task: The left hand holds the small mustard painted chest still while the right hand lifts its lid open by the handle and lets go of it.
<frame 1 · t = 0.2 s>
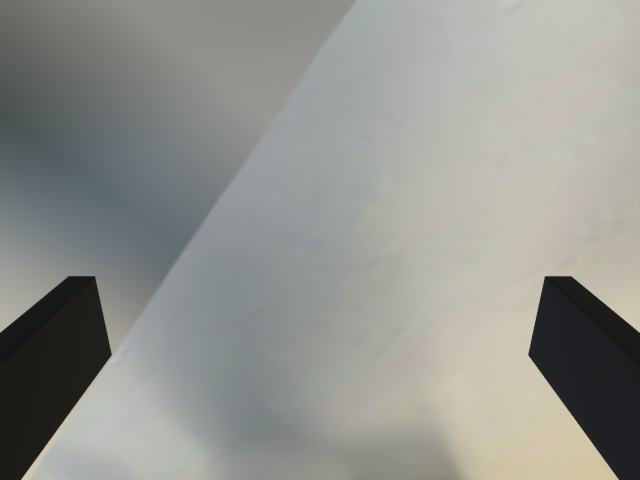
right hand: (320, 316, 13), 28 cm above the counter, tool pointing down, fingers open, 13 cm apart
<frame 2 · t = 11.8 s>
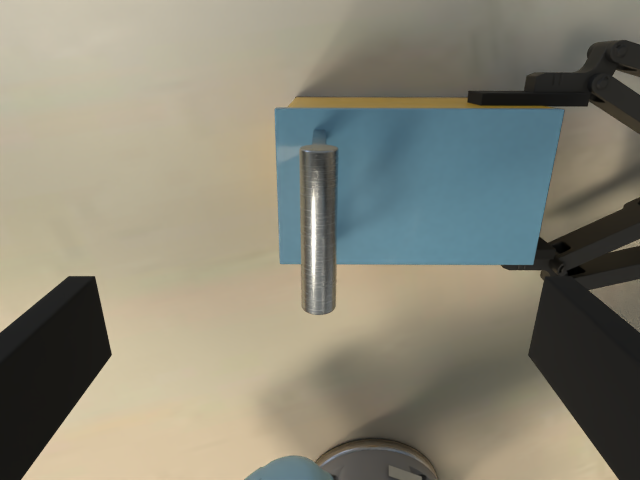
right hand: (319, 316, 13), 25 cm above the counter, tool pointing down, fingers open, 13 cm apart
left hand: (464, 177, 29), fingers closed on chest, 9 cm apart
lid: (425, 209, 23), point 14 cm above the counter, hinge at 0.0°
chest: (390, 157, 36), on the counter, touching left hand
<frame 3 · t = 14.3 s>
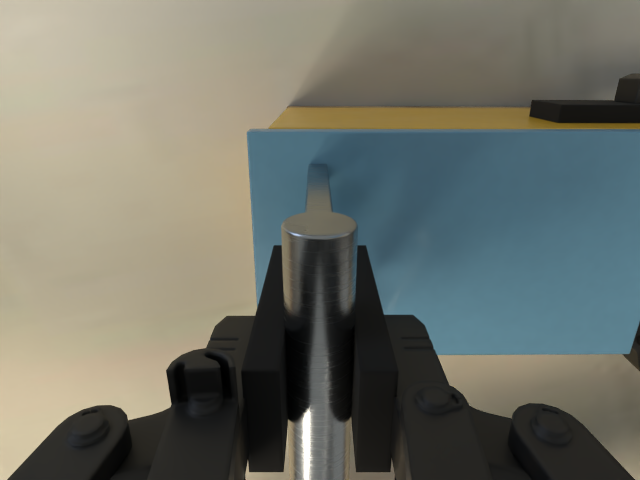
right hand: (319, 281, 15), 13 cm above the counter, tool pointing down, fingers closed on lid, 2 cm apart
lid: (492, 298, 14), point 14 cm above the counter, hinge at 1.1°, touching right hand
chest: (413, 185, 27), on the counter, touching left hand
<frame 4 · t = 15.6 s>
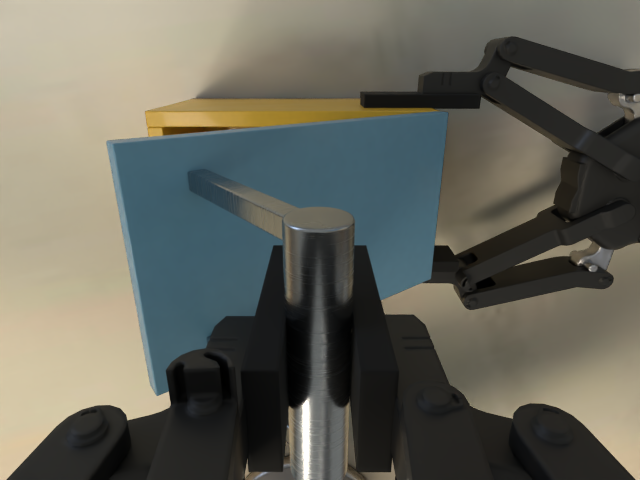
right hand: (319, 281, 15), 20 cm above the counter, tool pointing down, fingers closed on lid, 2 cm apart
left hand: (359, 184, 27), fingers closed on chest, 9 cm apart
lid: (379, 259, 17), point 18 cm above the counter, hinge at 37.0°, touching right hand
chest: (300, 162, 34), on the counter, touching left hand
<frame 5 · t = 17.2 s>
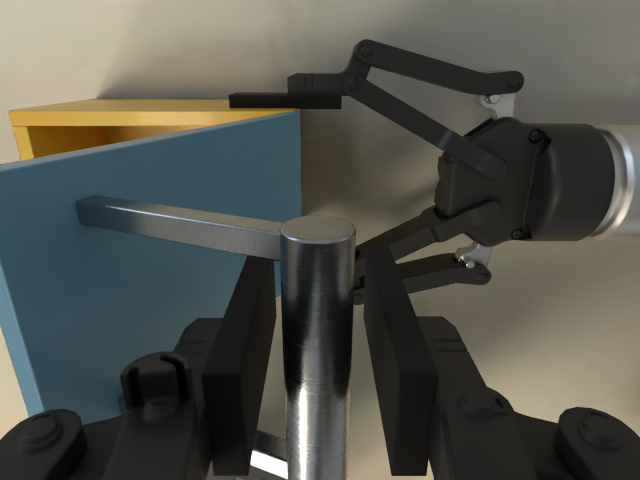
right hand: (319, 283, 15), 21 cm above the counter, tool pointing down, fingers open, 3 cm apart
left hand: (239, 182, 28), fingers closed on chest, 9 cm apart
lid: (293, 262, 17), point 19 cm above the counter, hinge at 66.4°
chest: (203, 161, 34), on the counter, touching left hand
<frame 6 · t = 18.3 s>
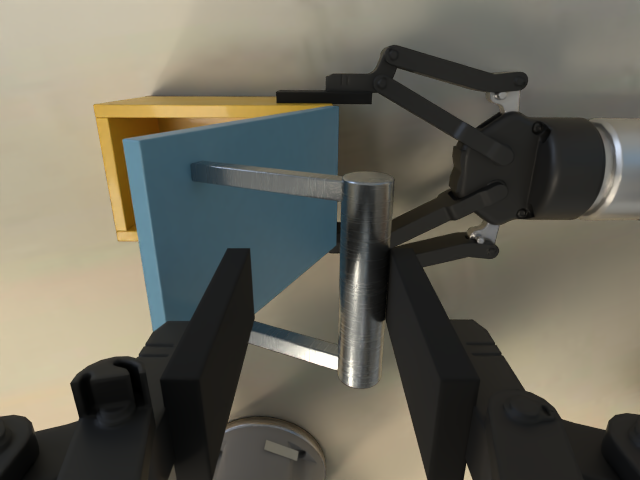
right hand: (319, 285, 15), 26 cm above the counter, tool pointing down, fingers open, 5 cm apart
left hand: (280, 168, 33), fingers closed on chest, 9 cm apart
lid: (336, 222, 21), point 19 cm above the counter, hinge at 64.2°, touching right hand
chest: (242, 152, 39), on the counter, touching left hand
when the left hand's fingers open (7 cm above the counter, at t = 21.1 s): chest stays where it is, on the counter.
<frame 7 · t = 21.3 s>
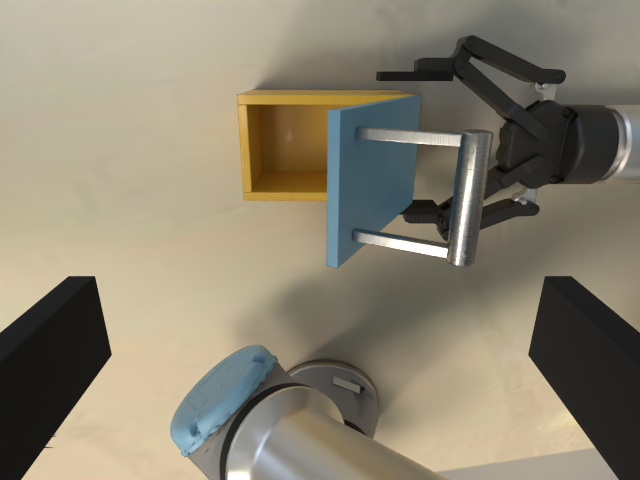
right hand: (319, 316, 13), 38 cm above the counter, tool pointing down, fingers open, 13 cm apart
left hand: (374, 145, 42), fingers open, 12 cm apart
lid: (432, 173, 30), point 19 cm above the counter, hinge at 62.2°
chest: (324, 134, 48), on the counter
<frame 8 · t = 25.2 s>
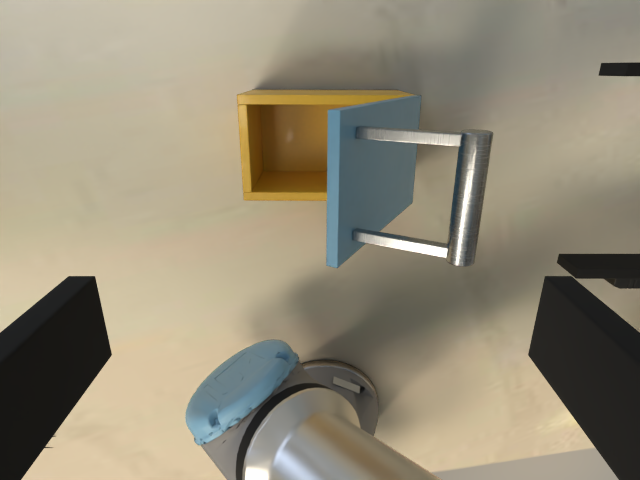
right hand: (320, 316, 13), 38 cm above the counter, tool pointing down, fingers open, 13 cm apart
lid: (432, 173, 30), point 19 cm above the counter, hinge at 62.2°
chest: (324, 134, 48), on the counter
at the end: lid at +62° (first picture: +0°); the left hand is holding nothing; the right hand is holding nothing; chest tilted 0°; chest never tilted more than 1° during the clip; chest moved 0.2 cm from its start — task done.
